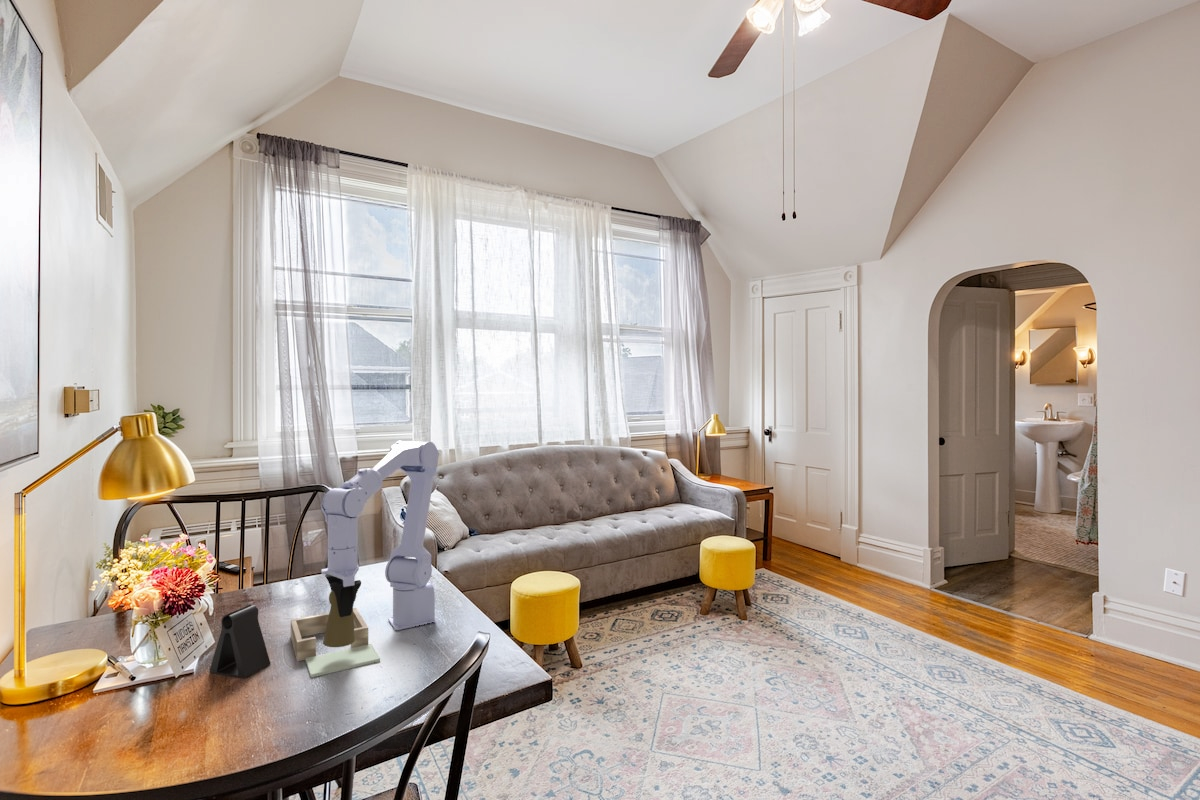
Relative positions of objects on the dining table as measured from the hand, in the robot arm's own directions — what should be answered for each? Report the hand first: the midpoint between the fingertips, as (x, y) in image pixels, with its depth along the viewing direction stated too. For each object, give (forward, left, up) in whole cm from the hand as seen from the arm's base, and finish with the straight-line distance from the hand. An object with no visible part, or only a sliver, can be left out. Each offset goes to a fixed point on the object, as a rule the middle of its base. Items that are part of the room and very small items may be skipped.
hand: (342, 611), depth 121 cm
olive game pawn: (+1, 0, -6) cm, 6 cm away
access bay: (+1, -12, -10) cm, 16 cm away
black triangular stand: (+18, -7, -11) cm, 22 cm away
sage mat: (0, 0, -10) cm, 10 cm away
